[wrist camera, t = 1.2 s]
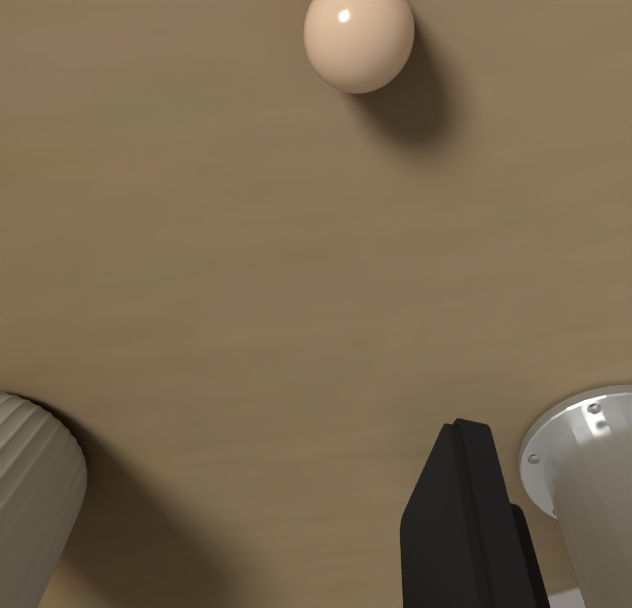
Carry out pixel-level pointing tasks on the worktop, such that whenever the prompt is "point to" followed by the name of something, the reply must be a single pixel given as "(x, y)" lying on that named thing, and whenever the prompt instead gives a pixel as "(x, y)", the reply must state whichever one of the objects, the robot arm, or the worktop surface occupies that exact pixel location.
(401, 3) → the brown egg
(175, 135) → the worktop surface
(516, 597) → the robot arm
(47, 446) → the canister
